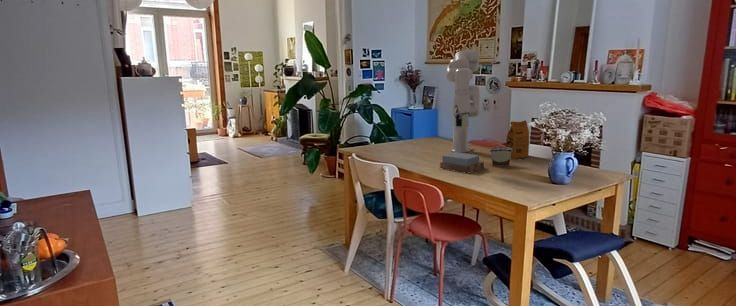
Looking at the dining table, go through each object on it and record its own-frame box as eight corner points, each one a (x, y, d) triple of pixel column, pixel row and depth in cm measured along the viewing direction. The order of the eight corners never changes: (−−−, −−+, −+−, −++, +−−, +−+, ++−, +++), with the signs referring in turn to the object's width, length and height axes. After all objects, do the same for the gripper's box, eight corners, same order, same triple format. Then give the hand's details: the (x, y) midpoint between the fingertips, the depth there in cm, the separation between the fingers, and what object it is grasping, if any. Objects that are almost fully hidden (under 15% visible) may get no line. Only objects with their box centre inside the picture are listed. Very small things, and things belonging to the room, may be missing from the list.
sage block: (460, 126, 263) (460, 113, 262) (468, 126, 260) (468, 114, 258) (455, 127, 260) (455, 114, 258) (463, 128, 256) (463, 115, 255)
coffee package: (503, 156, 291) (504, 120, 286) (521, 154, 294) (522, 119, 289) (512, 159, 281) (513, 122, 277) (530, 157, 284) (532, 121, 280)
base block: (457, 164, 276) (457, 157, 276) (483, 169, 264) (483, 162, 263) (440, 169, 266) (440, 162, 265) (467, 174, 253) (467, 167, 252)
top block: (455, 158, 273) (455, 152, 272) (479, 162, 262) (479, 155, 261) (442, 162, 265) (442, 155, 264) (467, 166, 254) (467, 159, 253)
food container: (510, 163, 272) (510, 146, 270) (512, 165, 266) (512, 148, 264) (488, 163, 273) (488, 146, 271) (489, 166, 267) (490, 148, 265)
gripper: (465, 90, 264) (465, 123, 268) (446, 93, 253) (446, 127, 256) (477, 91, 259) (476, 124, 263) (458, 93, 247) (458, 128, 251)
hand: (461, 125), depth 259 cm, fingers closed on sage block, 5 cm apart
